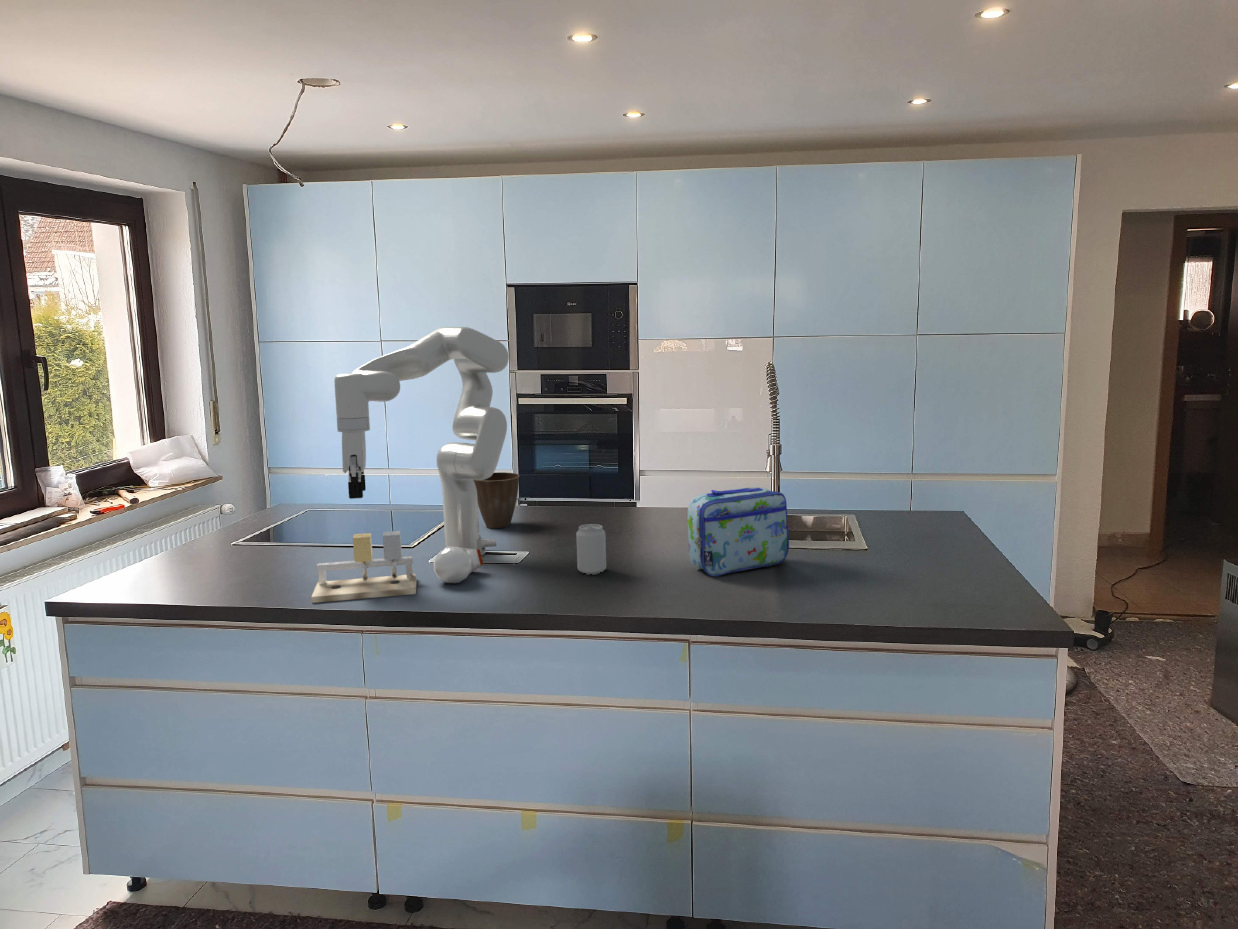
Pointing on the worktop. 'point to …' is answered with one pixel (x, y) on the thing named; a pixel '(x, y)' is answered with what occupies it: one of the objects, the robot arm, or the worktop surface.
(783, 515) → the lunch box
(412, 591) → the hole plate
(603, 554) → the can
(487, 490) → the plant pot
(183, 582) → the worktop surface
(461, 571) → the potion bottle
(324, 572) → the trammel frame
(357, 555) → the block
